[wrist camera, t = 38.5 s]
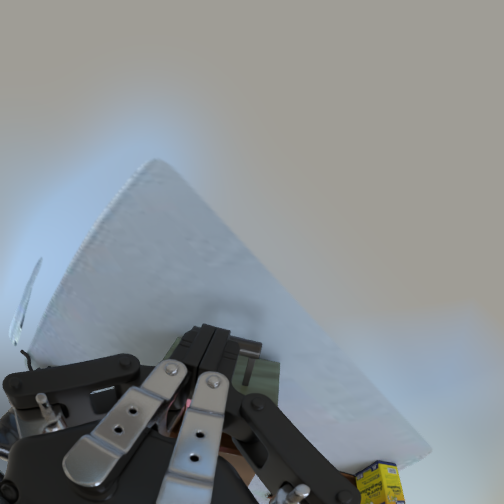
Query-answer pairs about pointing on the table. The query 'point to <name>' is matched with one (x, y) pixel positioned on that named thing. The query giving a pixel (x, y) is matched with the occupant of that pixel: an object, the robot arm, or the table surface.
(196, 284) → the table surface
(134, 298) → the table surface
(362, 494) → the supplement box
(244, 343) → the drawer
